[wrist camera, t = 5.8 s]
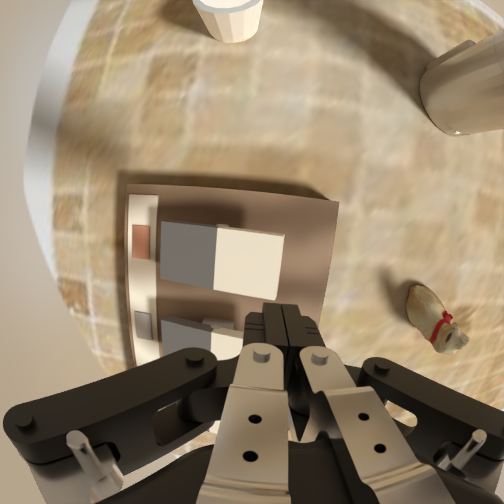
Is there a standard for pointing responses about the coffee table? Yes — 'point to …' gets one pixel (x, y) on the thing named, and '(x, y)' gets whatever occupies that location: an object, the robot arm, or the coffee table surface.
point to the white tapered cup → (230, 18)
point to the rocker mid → (200, 337)
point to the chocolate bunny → (434, 321)
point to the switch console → (235, 215)
